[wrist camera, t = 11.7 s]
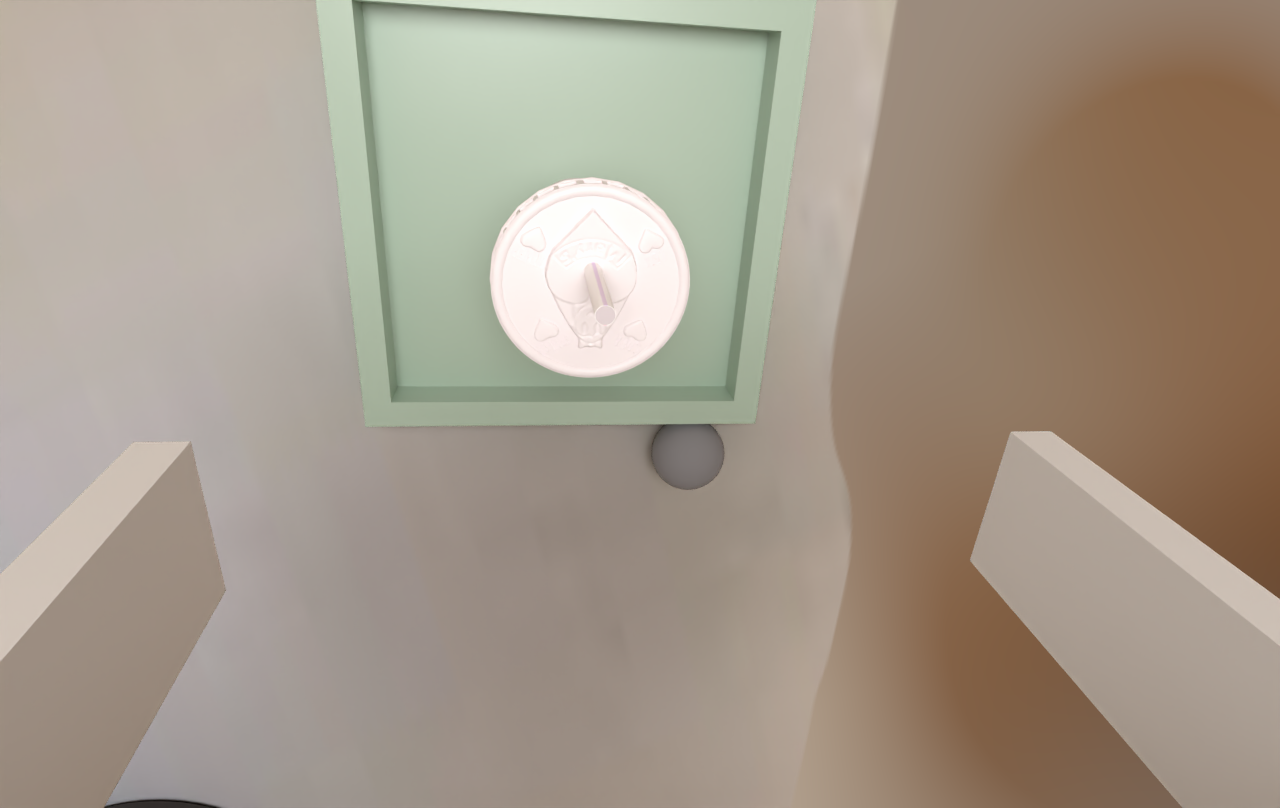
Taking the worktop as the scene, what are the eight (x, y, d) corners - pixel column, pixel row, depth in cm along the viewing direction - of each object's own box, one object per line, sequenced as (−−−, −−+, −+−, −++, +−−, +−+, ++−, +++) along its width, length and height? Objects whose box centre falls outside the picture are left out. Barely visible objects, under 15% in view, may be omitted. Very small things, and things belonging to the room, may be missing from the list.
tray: (376, 402, 35) (365, 426, 32) (328, -37, 27) (310, -44, 25) (741, 401, 37) (755, 423, 35) (795, 1, 29) (816, -3, 27)
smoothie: (652, 146, 30) (737, 213, 18) (645, 294, 33) (713, 441, 21) (497, 141, 30) (472, 207, 17) (502, 293, 32) (484, 446, 20)
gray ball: (644, 466, 38) (654, 504, 35) (649, 404, 37) (660, 439, 33) (711, 465, 39) (727, 502, 36) (718, 404, 37) (736, 438, 34)
